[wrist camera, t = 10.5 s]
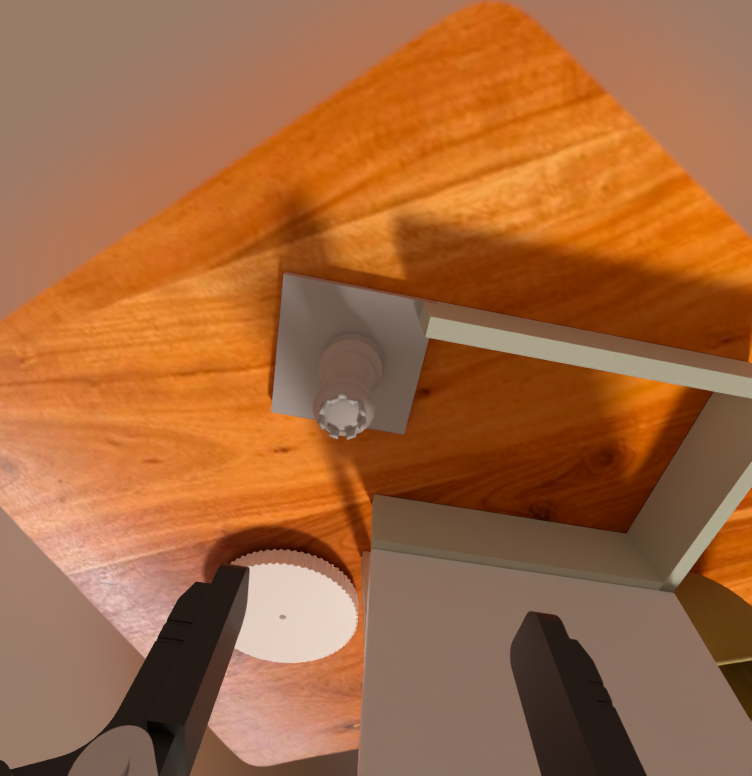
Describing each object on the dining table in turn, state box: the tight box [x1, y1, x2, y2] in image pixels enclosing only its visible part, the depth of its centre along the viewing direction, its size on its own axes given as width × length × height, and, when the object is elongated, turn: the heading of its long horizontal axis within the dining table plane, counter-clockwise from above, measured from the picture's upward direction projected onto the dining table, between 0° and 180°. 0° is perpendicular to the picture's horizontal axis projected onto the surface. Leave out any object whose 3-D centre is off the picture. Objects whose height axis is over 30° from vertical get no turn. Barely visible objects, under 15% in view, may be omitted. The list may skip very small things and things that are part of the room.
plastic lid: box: [231, 549, 359, 663], centre depth 37 cm, size 14×14×2 cm
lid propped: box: [357, 549, 752, 776], centre depth 22 cm, size 24×4×18 cm, turn 79°
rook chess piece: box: [313, 333, 384, 440], centre depth 23 cm, size 4×4×8 cm
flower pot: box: [673, 571, 752, 722], centre depth 33 cm, size 9×9×9 cm
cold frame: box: [361, 301, 752, 647], centre depth 26 cm, size 24×24×12 cm
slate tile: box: [271, 272, 438, 434], centre depth 27 cm, size 10×10×1 cm
